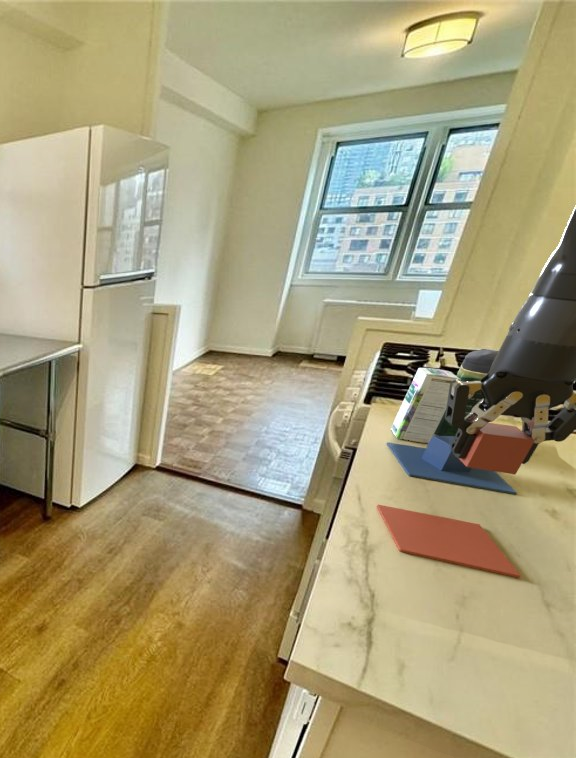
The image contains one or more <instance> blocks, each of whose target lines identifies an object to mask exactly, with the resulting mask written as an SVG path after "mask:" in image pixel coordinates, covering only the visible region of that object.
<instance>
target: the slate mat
mask: <svg viewBox="0 0 576 758" xmlns="http://www.w3.org/2000/svg"><path fill="white" fill-rule="evenodd" d="M386 445H387V447H388V446H389V447H388V448H389V450H390V449H391V450H390V451H391V453H392V454H393V455H394V457H395V458H396V461H398V463H399V465H400V466H401V467H402V469H403V470H404V471H405V473H406V474H407V476H408V477H413V478H419V479H423V480H430V481H435V482H442V483H447V484H453V485H459V486H464V487H469V488H476V489H482V490H489V491H493V492H499V493H506V494H511V495H517V494H518V492H517V491H516V490H515V489H514V488H513V487H512V486H511V485H510V484H509V483H508V482H507V481H506V480H505V479H504V478H503V477H501V476H500V475H499V474H498V472H496V471H489V470H483V469H476V468H471V470H470V472H458V471H441V470H439V469H438V468H436V467H434V466H433V465H431V464H430V463H428V462H426V461H425V460H423V459H422V456H423V454H424V452H425V450H426V448H427V447H422V446H421V447H420V446H414V445H409V444H401V443H394V442H388V441H387V442H386Z"/></svg>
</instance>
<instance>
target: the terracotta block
mask: <svg viewBox="0 0 576 758" xmlns="http://www.w3.org/2000/svg"><path fill="white" fill-rule="evenodd" d="M475 434H476V435H477V436H476V438H475V440H474V442H473V444H472V446H471V448H470V450H469V452H468V453H467V455H466V457H465V458H464V459H461V458H459V459H460V460H461V461H462V462H463V464H464V465H465V466H466V467H470V468H476V469H483V470H489V471H495V472H496V473H503V474H508V475H509V474H510V475H516V474H517V473H518V471H519V469H520V467H521V466H522V465H523V464H522V462H523V461H524V459H525V457H526V455H527V454H528V452H529V450H530V448H531V447H532V445H533V443H534V441H535V440H534V439H532V438H531V437H530V436H528V435H527V434H526V433H524V432H523V431H522V429H520V428H519V427H517V426H516V425H509V424H502V423H493V422H489V423H487V424H486V425H485V426H484V427H483V428H481V429H480V430H479V431H478V432H477V433H475Z"/></svg>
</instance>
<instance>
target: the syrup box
mask: <svg viewBox="0 0 576 758" xmlns="http://www.w3.org/2000/svg"><path fill="white" fill-rule="evenodd" d="M453 380H461V379H460V378H458V377H457V376H456V374H454V373H453V372H452V371H449V370H445V369H439V368H432V367H418V368H417V370H416V373H415V374H414V376H413V380H412V381H411V384H410V386H409V388H408V390H407V392H406V394H405V396H404V398H403V400H402V403H401V405H400V407H399V408H398V409H399V410H398V412H397V414H396V415H395V418H394V421H393V423H392V425H391V428H390V431H391V430H392V431H391V432H392V434H393V435H394V436H395V438H396V439H397V440H402V439H404V440H403V441H408V440H409V441H408V442H416V443H423V444H429V442H430V440H431V437H432V436H433V435H435V434H434V433H435V430H436V429H437V427H438V425H439V423H440V421H441V419H442V417H443V415H444V412H445V410H446V407H447V400H448V394H449V387H450V383H451V382H452V381H453Z"/></svg>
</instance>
